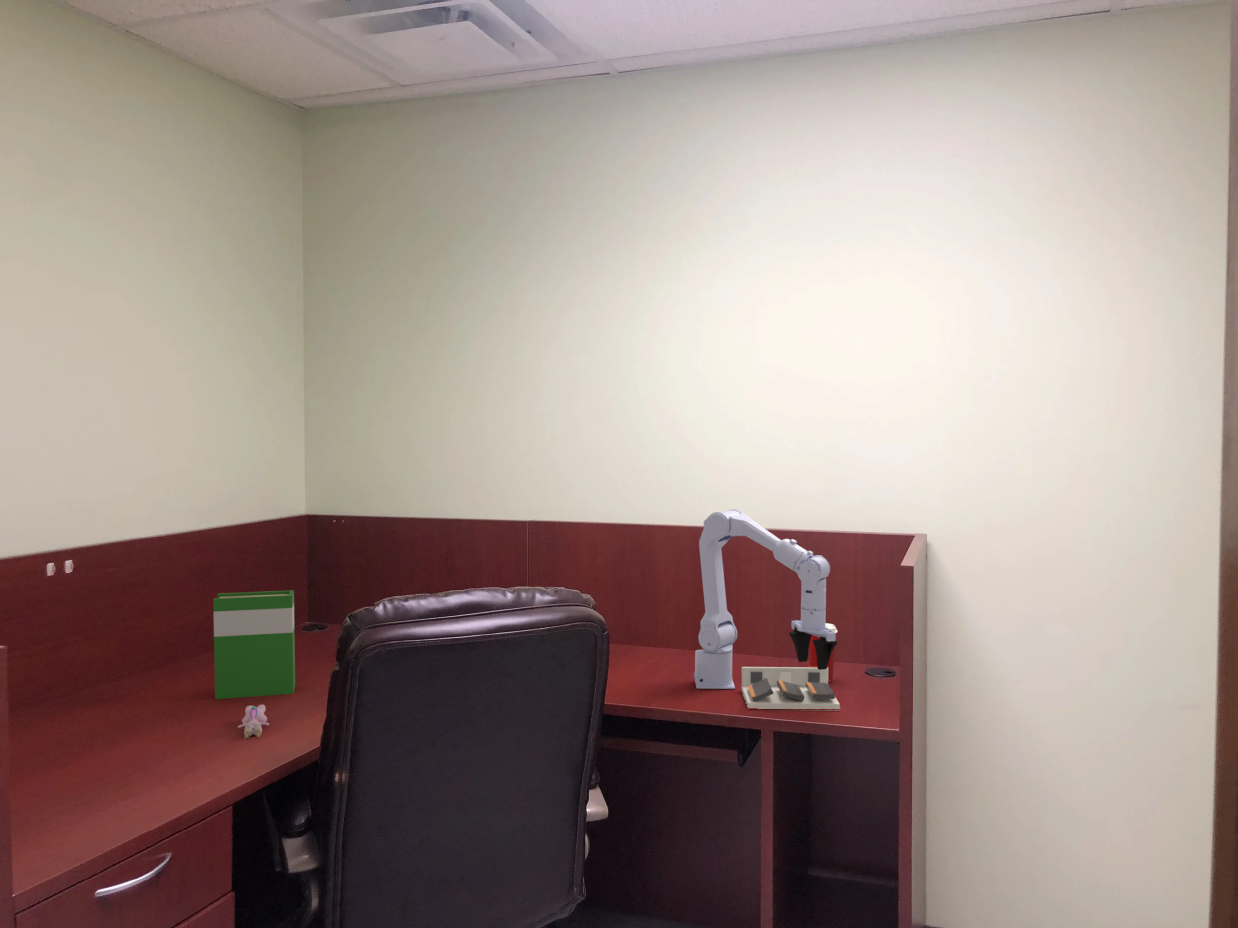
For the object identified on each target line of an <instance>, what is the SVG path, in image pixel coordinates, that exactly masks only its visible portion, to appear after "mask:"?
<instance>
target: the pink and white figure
mask: <svg viewBox="0 0 1238 928" xmlns="http://www.w3.org/2000/svg"><path fill="white" fill-rule="evenodd" d="M265 712H266V706H265V704H259V705H257V706H255V705H247V706H246V707H245V715H244V717H243V718H242V719H241V722H242V724H240V725H237V728H238V729H240V728H242V727H244V729H243V730H244V731H243V735H244V737H243V740H246V739H247V738H248V739H249V738H250V737H251V736H256V738H257V737H258V738H262V736H261V735H262V733H263V728H262V726H270V723H269V722H267V721H268V717H267V715H265Z"/></svg>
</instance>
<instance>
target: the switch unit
mask: <svg viewBox="0 0 1238 928" xmlns="http://www.w3.org/2000/svg"><path fill="white" fill-rule="evenodd" d="M765 678H767V680H768V682H769V684H770V686H771V689H772V691H773V693H774V694H772V695H769V696H767V697H765V698H763V699H760V700H758V701H756V702H754V701H753V699H752V697H751V694H750V691H749V689H748V686H749V685H752V684H754V683H756V682H758V681H761V680H763V679H765ZM777 680H781V681H785V682H788V683H792V684H796V685H798V686H799V688H800V689H801V691H802V693H803V695H804V700H803V701H801V700H797V699H793V698H790V697H786V696H782V694H781V692H780V690H779V688H778V686H777V684H776V683H777ZM806 682H816V683H827V684H828V685H829V682H828V668H827V669H823V670H819V669H818V668H810V666H808V667H798V666H794V667H790V666H788V667H787V666H782V667H781V666H779V667H778V666H770V667H769V666H741V693H743V694H742V696H743V699H744V701H746V702H745V704H747V705H746V707H748V708H758V709H840V710H841V704H840V702H839V701H838V699H837V697H835V699H816V698H812V696H811V694H810V693H809V691H808V689H807V688H806ZM748 708H747V709H748Z"/></svg>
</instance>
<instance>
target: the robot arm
mask: <svg viewBox="0 0 1238 928" xmlns="http://www.w3.org/2000/svg"><path fill="white" fill-rule="evenodd" d="M734 537H747V538H749V539H750V540H752V541H754V542H756V543H757V544H759V545H760V546H762V547H764V548H766V549H768V550H770V551H771V552H772V553H773V557H774V559H775V560H776V561H777V562H779V563H781V564H782V565H783V566H785V567H787V568H788V569H790V570H791V571H793V572H795V573H796V574H797V576H798V579H799V580H800V582H801V583H800V584H801V587H800V588H801V590H800V591H801V592H800V593H801V594H800V620H796V619H795V620H791V629H792V630H793V631H790V632H789V633H788V634H789V636H790V639H791V640H792V642H793V646H794V649H795V653H796V657H797V660H798V662H799V663H803V662H807V661H808V658H809V644H810V640H811V637H812V635H814V636H817V637H820V639H816V640H813V644H814V646H815V650H816V656H817V667H818V669H819V670H823V669H827V666H828V662H829V659H830V656H831V653H832V651H833V649H834V647H835V648H836V646H837V644H838V640H837V633H835V632H833V631H831V630H830V629H828V628H827V627H826V626H825V623H826V622H827V621H826V619H827V618H826V613H827V612H826V611H827V609H826V607H827V578H828V577H829V575H830V572H831V565H830V562H829V561H828V559H826V558H825V557H824V556H823V555H821V554H819V555H818V554H817V555H814V552H813V551H811V550H807V549H805V548H803V547H802V546H800V545H798V544H797V543H798V541H797V540H796V539H793V538H791V539H789V538H784V539H780V538H779V537H777V536H776V535H774V534H773V533H772V532H770V531H769V530H767V529H766V528H764V527H763V526H762V525H760V524H759V523H757V522H756V521H755V520H753V519H752V518H751V517H750V516H749V515H748V514H745V513H743V512H742V511H740V510H739V509H728V510H725V511H716V512H712V513H711V514H710V515H708V516H707V518H706V519H705V520H703V529H702V532H701V536H700V537H699V543H698V548H699V556H700V557H699V559H700V567H701V580H702V589H703V590H702V591H703V599H704V601H703V602H704V611H705V612H704V614H703V616H702V618H701V619H700V628H699V629H700V630H699V633H698V643H699V645H700V647H701V648H702V649H696V650H695V653H694V654H695V655H694V659H695V660H694V661H695V662H694V673H693V678H694V679H693V680H694V683H695V687H696V689H698V690H699V689H702V690H703V689H705V690H706V689H710V690H711V689H712V690H719V689H720V690H734V689H736V686H735V683H734V681H733V680H734V679H733V644H734V643H735V642H736V641H737V639H738V629H737V627H736V626H735V623H734V620H733V619H734V618H733V615H732V614H731V613H730V612H729V611H728V606H727V595H726V594H727V593H726V585H725V575H724V573H725V572H724V564H723V554H722V553H723V552H722V548H723V547H724V546H725V545H726V544H727V543H728V541H729V540H730V539H732V538H734ZM835 638H836V640H835Z"/></svg>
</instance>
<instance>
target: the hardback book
mask: <svg viewBox="0 0 1238 928" xmlns="http://www.w3.org/2000/svg"><path fill="white" fill-rule="evenodd" d="M216 597H217V598H213V599H212V600H213V601H212V603H213V606H212V607H213V641H214V642H213V648H214V649H213V653H214V654H213V655H214V658H213V660H214V661H213V662H214V699H215V700H222V699H224V700H226V699H237V698H252V697H253V698H254V697H265V696H269V697H270V696H280V694H283V695H293V694H294V693H295V689H296V653H295V650H296V648H295V647H296V646H295V645H296V644H295V641H296V640H295V590H293V589H292V590H291V589H290V590H270V591H269V590H268V591H247V592H221V593H217V595H216ZM294 688H295V689H294Z"/></svg>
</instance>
